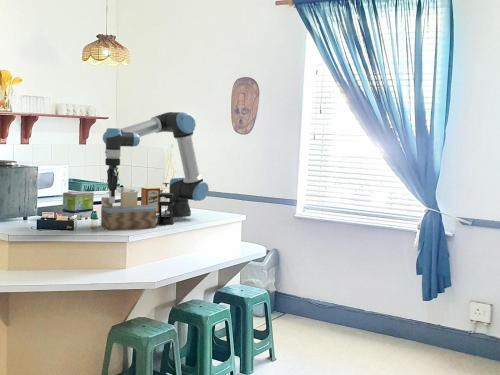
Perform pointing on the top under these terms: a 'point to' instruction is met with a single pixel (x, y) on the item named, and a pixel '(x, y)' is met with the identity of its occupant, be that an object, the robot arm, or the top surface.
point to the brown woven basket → (128, 220)
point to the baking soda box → (150, 197)
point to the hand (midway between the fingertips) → (111, 202)
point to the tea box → (78, 204)
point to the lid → (128, 204)
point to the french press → (172, 209)
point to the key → (106, 202)
